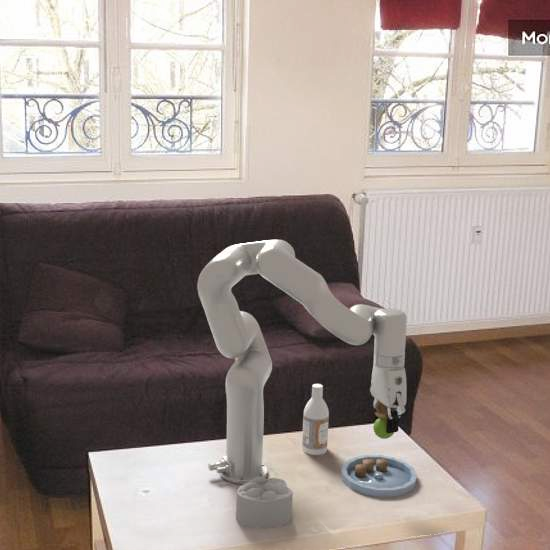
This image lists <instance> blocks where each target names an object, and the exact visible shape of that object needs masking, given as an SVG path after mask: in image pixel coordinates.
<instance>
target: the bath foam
mask: <svg viewBox="0 0 550 550" xmlns="http://www.w3.org/2000/svg"><path fill="white" fill-rule="evenodd" d="M311 385H312V386H311V398H310V399H309V400H308V401H307V403H306V405H305V407H304V409H303V418H302V419H303V420H302V440H301V441H302V443H301V445H302V446H301V450H302V452H304V453H305V454H307V455H310V456H311V455H312V456H320V455H321V456H322V455H324V454H325V453H327V451H328V436H329V435H328V434H329V418H330V411H329V407H328V405H327V403H326V401H325V400H324V398H323V391H324V385H322V384H321V383H313V384H311Z"/></svg>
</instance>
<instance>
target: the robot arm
mask: <svg viewBox="0 0 550 550" xmlns="http://www.w3.org/2000/svg"><path fill="white" fill-rule="evenodd" d="M258 274H259V275H260V276H261V277H262V278H263V279H265V280H266V281H268V282H269V283H271V284H272V285H274V286H275V287H276V288H278V289H279V290H281V291H283V292H284V293H285V294H287V295H288V296H290V297H291V298H292V299H294V300H296V301H297V302H298V303H300V304H301V305H302V306H303V307H304V309H306V311H307V312H308V313H309V315H311V316H312V317H313V319H315V320H316V321H317V323H318V324H320V325H321V326H322V327H323V329H325V330H326V331H328V332H330V333H331V334H332V335H334V336H335V337H337V338H338V339H340V340H341V341H343V342H345V343H347V344H349V345H352V346H361V345H364V344H365V343H367V342H368V341H369V340H371V339H370V338H371V337H372V335H373V336H374V341H373V343H374V345H373V346H374V348H373V364H372V365H373V367H372V370H371V371H372V373H371V383H370V388H369V391H370V392H369V393H370V394H371V398H372V401H373V404H372V406H373V424H374V423H375V421H376V420H377V419H378V418H379V417H377V416H376V414H375V413H378V412H377V411H376V408H375V405H376V402H377V401H380V402H381V403H383V404H384V405H386V406H387V409H388V417H389V418H387V424H386V432H387V433H394V434H395V433H397V432H399V425H400V418H401V416H402V415H403V414H404V413H405V412H406V408H405V406H406V404H407V395H408V394H407V393H408V392H407V388H408V387H407V374H406V368H405V358H406V357H405V356H406V343H407V342H406V340H407V322H408V320H407V319H408V317H407V314H406V312H404V311H403V310H401V309H399V308H398V309H397V308H380V307H376V306H372V305H368V304H364V303H363V304H361V303H360V304H358V303H357V304H355V305H353V306H351V307H350V308H348V307H347V306H346V305H345V304H343V303H342V302H340V300H338V299H337V298H336V296H334V294H333V293H332V292H331V290H330V288H329V286H328V284H327V282H326V280H325V278H324V277H323V275H322V274H320V273H319V272H317V271H315V270H314V269H313V268H312V267H309V266H308V265H306V264H305V263H304V262H303V261H301V260H299V259H298V258H296V253H295V249H294V247H293V246H292V245H291V244H290V243H288V242H287V241H285V240H283V239H276V238H275V239H268V240H267V239H266V240H261V241H253V242H246V243H238V244H233V245H229V246H228V247H226V248H225V249H223V250H222V251H220V253H217V254H216V256H214V257H213V258H212V259H211V260H210V261H209V262H208V263H207V264H206V265H205V266H204V268H203V269H202V270H201V272H200V274H199V276H198V280H197V286H196V290H197V293H198V297H199V300H200V302H201V306H202V307H203V310H204V313H205V316H206V317H205V318H206V319H207V323H208V325H209V328H210V331H211V334H212V338H213V340H214V342H215V346H216V348H217V349H218V351H219V352H220V354H221V355H222V356H224V357H226V358H228V359H234V360H235V361H234V362H233V364H232V365H231V366H230V368H229V370H228V371H227V374H226V378H225V395H226V450H225V451H226V454H225V455H223V456H222V459H220V460H219V461H217V462H210V463H208V470H209V471H216V473H217V474H220V477H222V478H223V479H224V480H226V481H228V482H230V483H232V484H238V485H244V484H245V483H247V482H249V481H252V480H253V479H254V478H255V477H257V476H263V477H265V478H266V479H267V477H268V474H269V468H268V467H267V465H266V464H265V463H264V462H263V457H264V456H263V455H264V454H263V451H264V450H263V449H264V421H265V418H264V417H265V415H264V413H265V410H264V409H265V406H264V405H265V403H264V387H265V385H266V382H267V381H268V379H269V377H270V376H271V374H272V369H273V363H272V359H271V355H270V352H269V349H268V347H267V346H268V345H267V344H266V340H265V338H264V335H263V333H262V330H261V327H260V324H259V323H258V321H257V319H256V318H255V317H254V316H253V315H252V314H251V313H249V312H246V311H242V310H240V308H239V304H238V302H237V299H236V297H235V295H234V294H233V292H232V288H233V287H234V286H235V285H236V284H238V282H240V281H241V280H242V279H243V278H245V277H246V276H251V275H258ZM392 408H395V410H396V411H394V412H393V413H392Z"/></svg>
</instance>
